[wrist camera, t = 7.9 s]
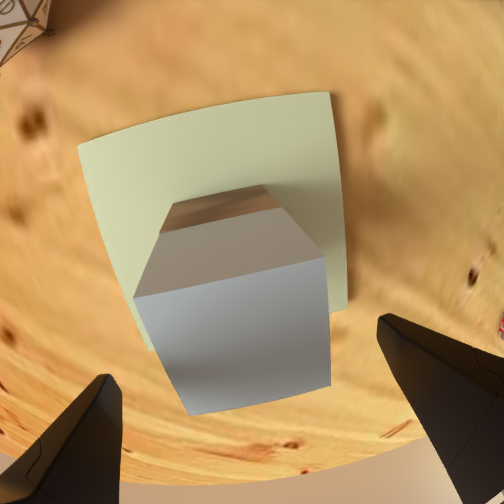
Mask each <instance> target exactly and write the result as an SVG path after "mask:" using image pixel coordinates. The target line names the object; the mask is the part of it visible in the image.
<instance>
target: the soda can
mask: <svg viewBox="0 0 504 504" xmlns="http://www.w3.org/2000/svg"><path fill="white" fill-rule="evenodd" d="M499 335H500V337H501V338H502V339H503V340H504V313H503V315H502V317H501V320H500V327H499Z"/></svg>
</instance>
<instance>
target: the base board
mask: <svg viewBox="0 0 504 504" xmlns="http://www.w3.org/2000/svg"><path fill="white" fill-rule="evenodd" d="M77 149H78V154H79V158H80V162H81V166H82V170H83V174H84V178H85V182H86V185H87V189H88V193H89V196H90V200H91V203H92V207H93V210H94V213H95V216H96V220H97V223H98V226H99V229H100V232H101V235H102V238H103V241H104V244H105V247H106V250H107V253H108V255H109V258H110V261H111V264H112V266H113V269H114V272H115V274H116V277H117V279H118V282H119V284H120V287H121V289H122V292H123V294H124V297H125V299H126V302H127V304H128V306H129V309H130V311H131V313H132V316H133V318H134V320H135V322H136V325H137V327H138V329H139V331H140V333H141V336H142V338H143V340H144V342H145V344H146V346H147V348H148V350H149V351H155V348H154V346H153V344H152V342H151V340H150V338H149V335H148V333H147V331H146V329H145V327H144V324H143V322H142V320H141V317H140V315H139V313H138V310H137V308H136V306H135V303H134V301H133V296H134V294H135V291H136V289H137V286H138V284H139V281H140V279H141V276H142V274H143V271H144V269H145V267H146V264H147V262H148V259H149V257H150V255H151V252H152V250H153V248H154V246H155V243H156V241H157V239H158V236H159V231H160V229H161V227H162V225H163V223H164V221H165V219H166V216H167V214H168V212H169V210H170V208H171V206H172V204H173V203H176V202H180V201H185V200H189V199H193V198H198V197H202V196H207V195H211V194H216V193H220V192H225V191H230V190H235V189H239V188H244V187H249V186H254V185H260V184H261V185H262V186H263V187H264V188H265V189H266V190H267V191H268V192H269V193H270V194H271V196H272V197H273V198H274V199H275V200H276V201H277V202H278V203H279V204H280V205H281V207H282V208H283V209H284V210H285V211H286V212H287V214H288V215H289V216H290V217H291V218H292V219H293V220H294V221H295V222H296V224H297V225H298V226H299V227H300V228H301V229H302V230H303V231H304V233H305V234H306V235H307V236H308V237H309V238H310V239H311V241H312V242H313V243H314V244H315V245H316V246H317V247H318V249H319V250H320V251H321V252H322V253H323V254H324V256H325V258H326V271H327V286H328V303H329V313H333V312H336V311H340V310H344V309H347V308H348V293H347V258H346V237H345V221H344V208H343V196H342V185H341V175H340V166H339V157H338V149H337V141H336V134H335V126H334V120H333V113H332V107H331V100H330V94H329V91H325V92H311V93H300V94H290V95H281V96H273V97H266V98H258V99H252V100H245V101H239V102H233V103H228V104H223V105H217V106H212V107H207V108H203V109H198V110H193V111H189V112H185V113H181V114H176V115H172V116H168V117H165V118H161V119H157V120H153V121H150V122H146V123H143V124H139V125H136V126H133V127H129V128H126V129H123V130H120V131H117V132H114V133H111V134H108V135H105V136H102V137H99V138H96V139H93V140H91V141H88V142H85V143H83V144H80V145H77Z"/></svg>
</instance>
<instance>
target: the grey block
mask: <svg viewBox="0 0 504 504" xmlns="http://www.w3.org/2000/svg"><path fill="white" fill-rule="evenodd" d="M133 301H134V303H135V306H136V308H137V310H138V313H139V315H140V317H141V320H142V322H143V324H144V327H145V329H146V331H147V333H148V335H149V338H150V340H151V342H152V344H153V346H154V348H155V350H156V352H157V355H158V357H159V359H160V361H161V363H162V365H163V367H164V369H165V371H166V373H167V375H168V377H169V379H170V380H171V382H172V384H173V386H174V388H175V390H176V392H177V394H178V396H179V397H180V399H181V401H182V403H183V405H184V406H185V408H186V410H187V412H188V413H189V415H190V416H192V415H199V414H206V413H213V412H219V411H225V410H231V409H236V408H242V407H247V406H252V405H257V404H261V403H266V402H270V401H275V400H279V399H283V398H287V397H291V396H295V395H299V394H303V393H307V392H310V391H314V390H317V389H321V388H324V387H328V386H331V358H330V325H329V303H328V286H327V271H326V258H325V256H324V254H323V253H322V252H321V251H320V250H319V249H318V247H317V246H316V245H315V244H314V243H313V242H312V241H311V239H310V238H309V237H308V236H307V235H306V234H305V233H304V231H303V230H302V229H301V228H300V227H299V226H298V225H297V224H296V222H295V221H294V220H293V219H292V218H291V217H290V216H289V215H288V214H287V212H286V211H285V210H284V209H283V208H282V207H279V208H274V209H269V210H264V211H259V212H254V213H250V214H245V215H240V216H236V217H231V218H226V219H222V220H217V221H213V222H208V223H204V224H199V225H195V226H191V227H186V228H182V229H178V230H173V231H169V232H165V233H161V234H159V236H158V239H157V241H156V243H155V246H154V248H153V250H152V252H151V255H150V257H149V259H148V262H147V264H146V267H145V269H144V271H143V274H142V276H141V279H140V281H139V284H138V286H137V289H136V291H135V294H134V296H133Z"/></svg>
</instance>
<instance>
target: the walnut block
mask: <svg viewBox="0 0 504 504" xmlns="http://www.w3.org/2000/svg"><path fill="white" fill-rule="evenodd" d="M279 207H281V205H280V204H279V203H278V202H277V201H276V200H275V199H274V198H273V197H272V196H271V194H270V193H269V192H268V191H267V190H266V189H265V188H264V187H263V186H262V185H261V184H260V185H254V186H249V187H244V188H239V189H235V190H230V191H225V192H220V193H216V194H211V195H207V196H202V197H198V198H193V199H189V200H185V201H180V202H176V203H173V204H172V206H171V208H170V210H169V212H168V214H167V216H166V219H165V221H164V223H163V225H162V227H161V229H160V231H159V234H161V233H165V232H169V231H173V230H178V229H182V228H186V227H191V226H195V225H199V224H204V223H208V222H213V221H217V220H222V219H226V218H231V217H236V216H240V215H245V214H250V213H254V212H259V211H264V210H269V209H274V208H279Z"/></svg>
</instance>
